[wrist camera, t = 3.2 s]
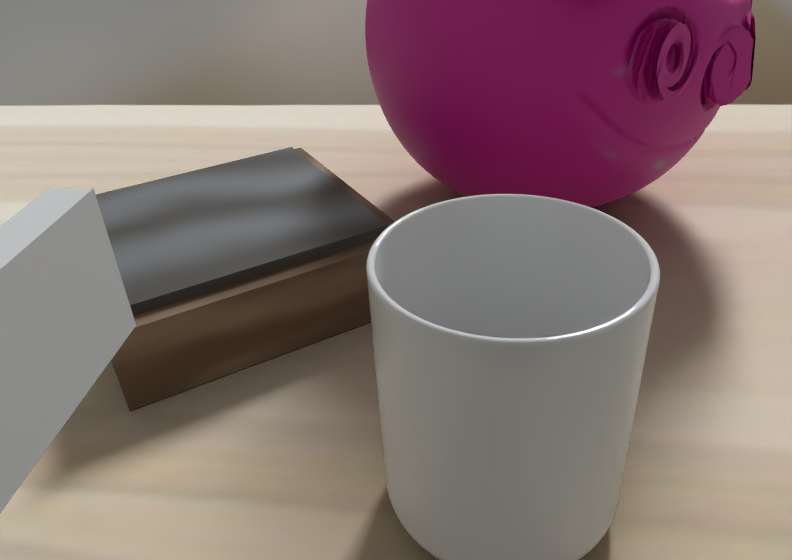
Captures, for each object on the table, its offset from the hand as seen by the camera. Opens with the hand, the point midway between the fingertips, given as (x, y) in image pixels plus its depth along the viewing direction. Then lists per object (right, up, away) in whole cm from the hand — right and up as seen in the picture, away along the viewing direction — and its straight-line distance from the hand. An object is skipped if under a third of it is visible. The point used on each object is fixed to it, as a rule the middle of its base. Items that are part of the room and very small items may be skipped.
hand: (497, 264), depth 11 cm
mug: (+3, -8, +17) cm, 19 cm away
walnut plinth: (-11, 0, +30) cm, 32 cm away
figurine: (+9, +6, +39) cm, 40 cm away
